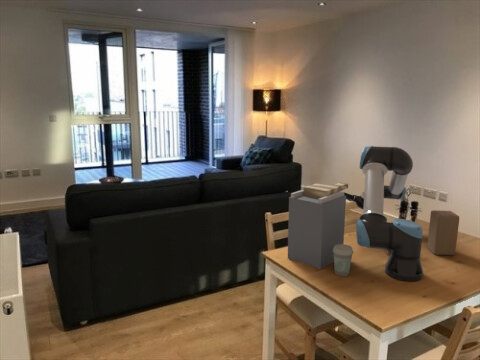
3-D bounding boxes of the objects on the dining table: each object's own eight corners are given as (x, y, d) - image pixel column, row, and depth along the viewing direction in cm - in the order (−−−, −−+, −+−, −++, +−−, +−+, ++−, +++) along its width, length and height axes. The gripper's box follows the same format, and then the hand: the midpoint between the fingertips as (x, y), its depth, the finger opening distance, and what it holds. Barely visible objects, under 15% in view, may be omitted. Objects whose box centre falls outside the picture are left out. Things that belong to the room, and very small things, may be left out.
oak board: (334, 185, 198) (334, 178, 197) (355, 189, 190) (355, 181, 189) (303, 195, 178) (303, 187, 177) (325, 199, 170) (326, 191, 169)
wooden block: (446, 248, 193) (451, 210, 189) (455, 256, 183) (460, 216, 179) (426, 247, 194) (430, 209, 189) (434, 255, 184) (438, 215, 180)
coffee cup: (327, 270, 168) (329, 245, 165) (344, 267, 171) (345, 242, 168) (339, 279, 160) (340, 252, 157) (356, 275, 163) (357, 249, 160)
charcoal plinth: (311, 246, 195) (313, 185, 189) (342, 256, 183) (346, 191, 177) (287, 258, 181) (289, 192, 175) (320, 269, 169) (323, 199, 162)
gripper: (385, 213, 204) (371, 203, 188) (342, 205, 220) (326, 195, 205) (388, 200, 205) (375, 188, 189) (345, 193, 221) (330, 182, 206)
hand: (350, 192), depth 197 cm, fingers open, 13 cm apart
